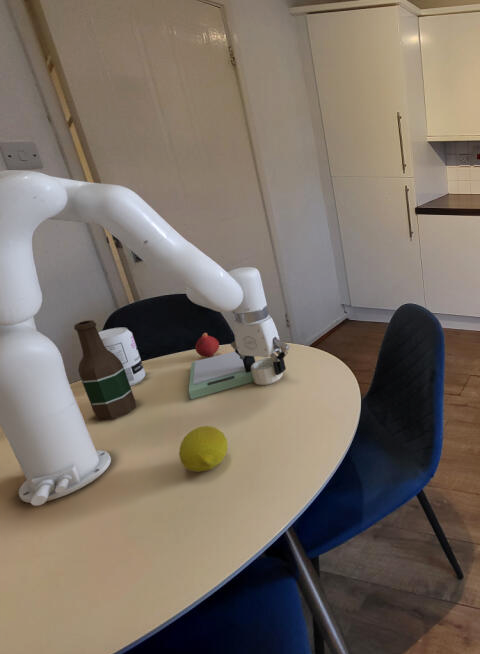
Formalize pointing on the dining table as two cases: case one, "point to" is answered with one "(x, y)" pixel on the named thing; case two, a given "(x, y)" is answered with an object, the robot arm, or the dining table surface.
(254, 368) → the bowl
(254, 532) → the dining table surface
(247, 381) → the scale
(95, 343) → the beer bottle
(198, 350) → the onion
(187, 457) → the lemon
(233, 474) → the dining table surface
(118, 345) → the supplement can
